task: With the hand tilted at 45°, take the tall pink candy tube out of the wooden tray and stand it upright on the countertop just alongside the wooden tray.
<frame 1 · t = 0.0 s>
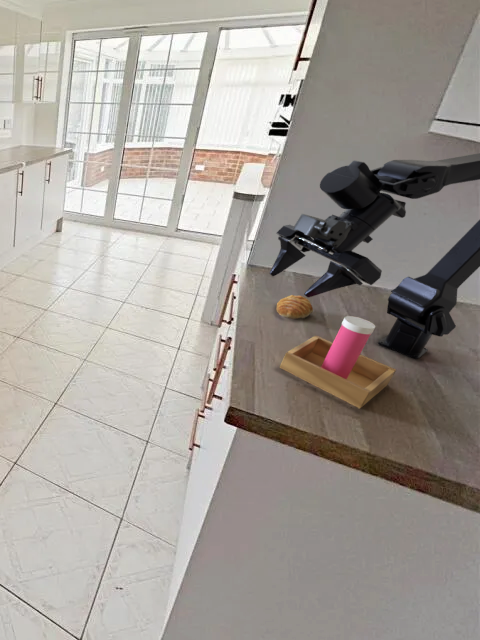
hand: (287, 284, 81), 15 cm above the counter, tool tilted 35°, fingers open, 9 cm apart
pastry: (291, 314, 101), on the counter
wooden tray: (330, 379, 78), on the counter
candy tube: (332, 375, 78), point 1 cm above the counter, touching wooden tray
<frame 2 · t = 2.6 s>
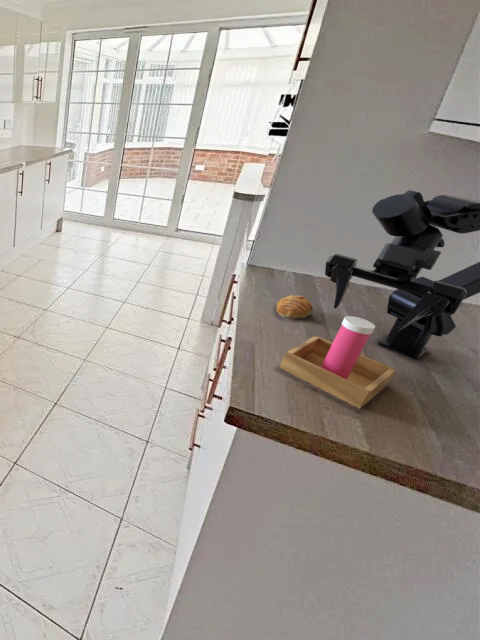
hand: (365, 317, 76), 12 cm above the counter, tool tilted 45°, fingers open, 9 cm apart
nothing on the counter moved.
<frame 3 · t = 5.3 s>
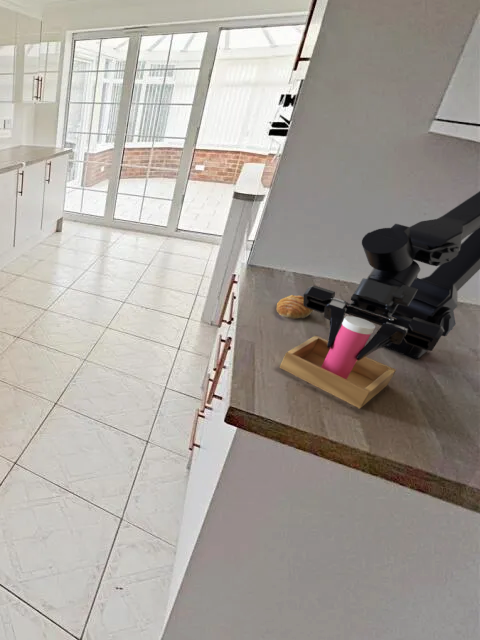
hand: (342, 353, 74), 7 cm above the counter, tool tilted 45°, fingers closed on candy tube, 4 cm apart
candy tube: (332, 375, 78), point 1 cm above the counter, touching wooden tray, gripper
everything else where it was.
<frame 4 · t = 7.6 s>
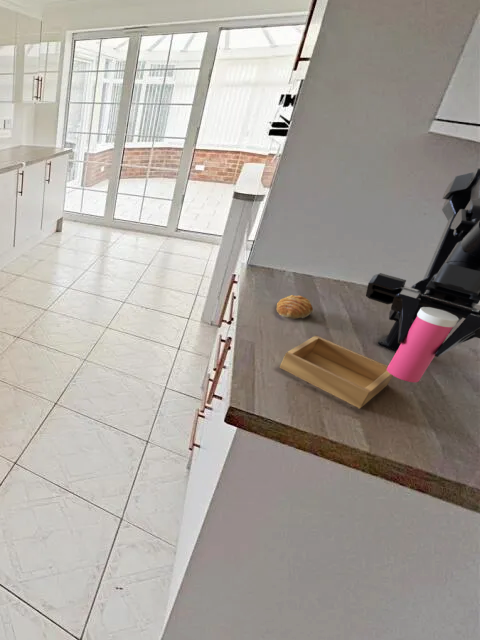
hand: (417, 348, 66), 13 cm above the counter, tool tilted 45°, fingers closed on candy tube, 4 cm apart
candy tube: (402, 374, 69), point 7 cm above the counter, touching gripper
everything else where it was.
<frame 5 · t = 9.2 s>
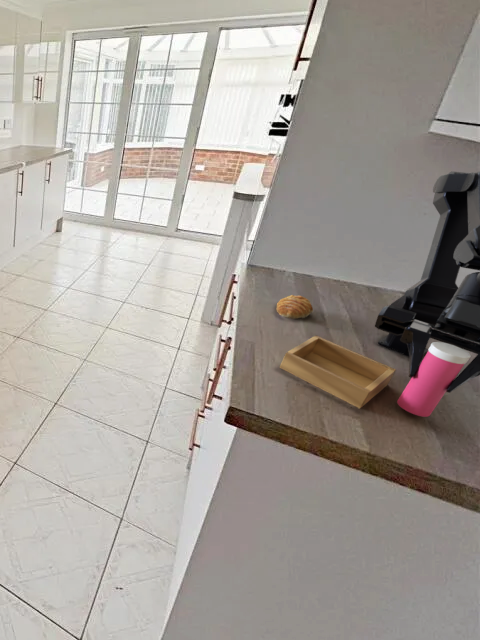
hand: (428, 383, 66), 8 cm above the counter, tool tilted 45°, fingers closed on candy tube, 4 cm apart
candy tube: (413, 408, 69), point 2 cm above the counter, touching gripper
everything else where it was.
when the fingers open (6 cm above the counter, at t = 10.2 s): candy tube stays where it is, on the counter.
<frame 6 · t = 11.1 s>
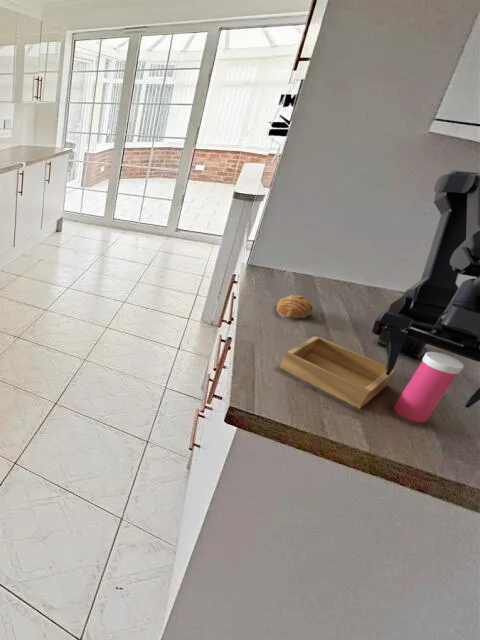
hand: (425, 389, 66), 7 cm above the counter, tool tilted 45°, fingers open, 9 cm apart
candy tube: (407, 416, 70), on the counter
everything else where it was.
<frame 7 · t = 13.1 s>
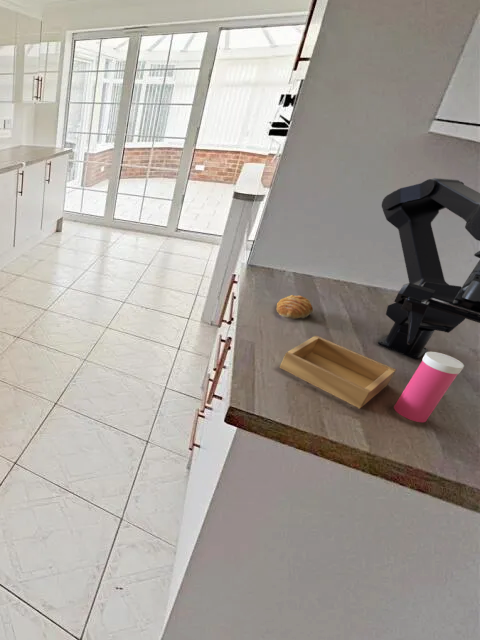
hand: (444, 357, 70), 9 cm above the counter, tool tilted 35°, fingers open, 9 cm apart
nothing on the counter moved.
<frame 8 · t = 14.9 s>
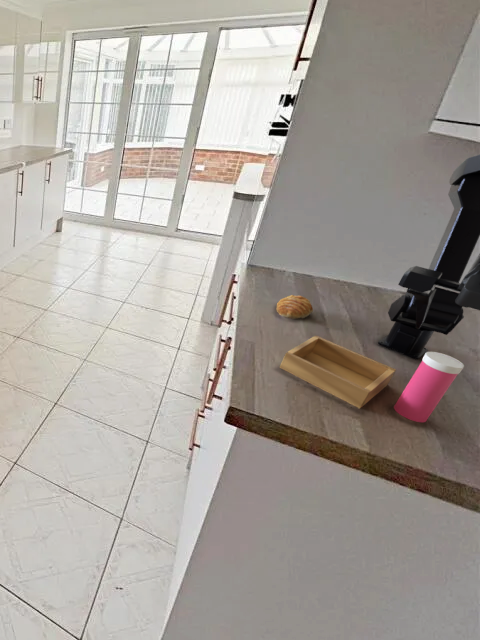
hand: (455, 340, 70), 12 cm above the counter, tool pointing down, fingers open, 9 cm apart
nothing on the counter moved.
at the end: candy tube inside the target area (0.2 cm from its centre), on the counter; candy tube tilted 0°; the gripper is holding nothing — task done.
